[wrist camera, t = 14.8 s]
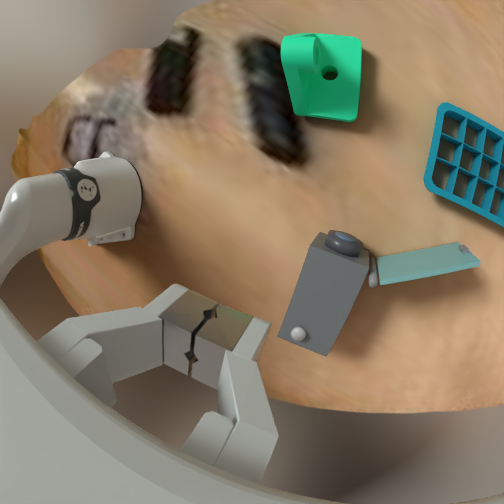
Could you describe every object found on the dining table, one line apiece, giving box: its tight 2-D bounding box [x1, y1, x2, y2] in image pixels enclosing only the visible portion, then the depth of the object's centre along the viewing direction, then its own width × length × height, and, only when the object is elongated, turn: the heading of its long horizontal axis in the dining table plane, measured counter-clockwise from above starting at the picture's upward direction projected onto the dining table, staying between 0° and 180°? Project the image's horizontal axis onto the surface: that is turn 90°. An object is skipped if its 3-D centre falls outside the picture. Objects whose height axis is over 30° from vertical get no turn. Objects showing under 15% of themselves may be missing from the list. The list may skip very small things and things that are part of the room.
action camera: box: [277, 230, 369, 357], centre depth 33 cm, size 15×7×8 cm, turn 165°
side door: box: [369, 242, 480, 288], centre depth 27 cm, size 13×1×8 cm, turn 107°
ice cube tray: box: [424, 102, 504, 227], centre depth 23 cm, size 12×20×3 cm, turn 77°
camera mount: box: [281, 33, 362, 122], centre depth 24 cm, size 12×8×10 cm, turn 173°
